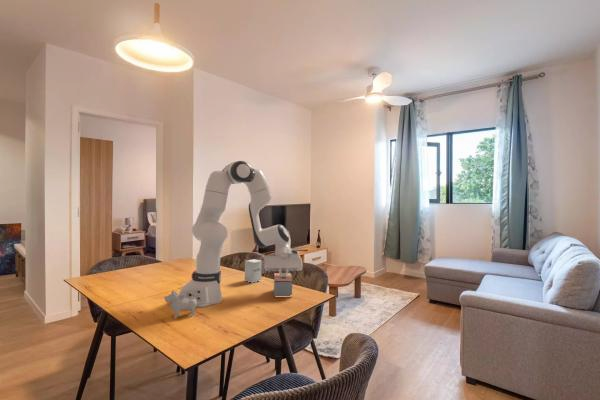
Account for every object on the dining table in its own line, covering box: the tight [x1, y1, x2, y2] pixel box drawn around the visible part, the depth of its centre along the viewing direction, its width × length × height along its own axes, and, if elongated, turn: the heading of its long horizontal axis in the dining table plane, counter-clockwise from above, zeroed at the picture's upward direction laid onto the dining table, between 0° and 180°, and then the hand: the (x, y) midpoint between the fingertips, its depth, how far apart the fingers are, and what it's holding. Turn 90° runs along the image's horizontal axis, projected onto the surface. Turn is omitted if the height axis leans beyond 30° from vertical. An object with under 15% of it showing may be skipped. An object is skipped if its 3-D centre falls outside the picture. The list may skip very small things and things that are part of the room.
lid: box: [273, 272, 293, 282], centre depth 160 cm, size 9×13×1 cm
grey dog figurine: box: [163, 290, 197, 319], centre depth 127 cm, size 5×13×11 cm, turn 112°
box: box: [273, 280, 293, 297], centre depth 160 cm, size 9×13×8 cm
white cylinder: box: [244, 258, 263, 284], centre depth 182 cm, size 7×7×13 cm
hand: (283, 277), depth 155 cm, fingers closed, pressing on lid
